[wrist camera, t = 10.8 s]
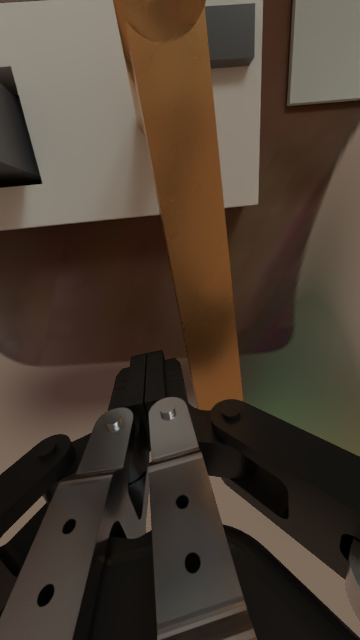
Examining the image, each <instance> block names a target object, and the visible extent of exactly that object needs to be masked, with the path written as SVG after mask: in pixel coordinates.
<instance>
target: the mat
mask: <svg viewBox="0 0 360 640" xmlns="http://www.w3.org/2000/svg"><path fill="white" fill-rule="evenodd" d="M356 100H360V0H293V5H292V22H291V40H290V58H289V76H288V93H287V106H296V105H308V104H320V103H332V102H344V101H356Z"/></svg>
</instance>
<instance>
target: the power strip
mask: <svg viewBox="0 0 360 640" xmlns="http://www.w3.org/2000/svg"><path fill="white" fill-rule="evenodd" d="M205 15H206V25H207V36H208V46H209V56H210V66H211V76H212V87H213V97H214V107H215V117H216V128H217V138H218V148H219V158H220V169H221V179H222V189H223V199H224V208H234V207H243V206H250V205H256V204H258V191H259V149H260V107H261V66H262V24H263V0H206V3H205ZM0 83H1V84H2V85H3V86H4V87H5V88H7V89H8V90H9V91H10V92H11V93H12V94H13V95H19V98H20V102H21V106H22V109H23V113H24V117H25V120H26V124H27V128H28V132H29V135H30V139H31V143H32V146H33V150H34V154H35V158H36V161H37V165H38V169H39V172H40V176H41V180H42V184H36V185H26V186H15V187H4V188H0V231H5V230H15V229H25V228H35V227H45V226H55V225H65V224H75V223H85V222H95V221H104V220H114V219H124V218H134V217H144V216H154V215H160V212H159V207H158V202H157V196H156V191H155V186H154V181H153V175H152V170H151V165H150V160H149V155H148V149H147V144H146V139H145V136H144V135H143V133H142V132H141V130H140V128H139V126H138V123H137V118H136V113H135V108H134V103H133V98H132V93H131V89H130V84H129V79H128V74H127V69H126V64H125V59H124V54H123V49H122V44H121V39H120V34H119V29H118V24H117V19H116V14H115V9H114V4H113V0H46V1H30V2H13V3H0Z"/></svg>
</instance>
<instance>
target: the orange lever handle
mask: <svg viewBox="0 0 360 640" xmlns="http://www.w3.org/2000/svg"><path fill="white" fill-rule="evenodd" d="M205 3H206V0H113V4H114V9H115V14H116V19H117V24H118V29H119V34H120V39H121V44H122V49H123V54H124V59H125V64H126V69H127V74H128V79H129V84H130V89H131V93H132V98H133V103H134V108H135V113H136V118H137V123H138V126H139V128H140V130H141V132H142V133H143V135H144V136H145V139H146V144H147V149H148V155H149V160H150V165H151V170H152V175H153V181H154V186H155V191H156V196H157V202H158V207H159V212H160V217H161V222H162V228H163V233H164V238H165V243H166V249H167V254H168V259H169V264H170V269H171V275H172V280H173V285H174V290H175V296H176V301H177V306H178V311H179V316H180V322H181V327H182V332H183V337H184V343H185V348H186V353H187V358H188V363H189V369H190V374H191V379H192V384H193V389H194V395H195V399H196V404H197V409H200V410H211V409H212V408H213V406H214V405H215V404H217V403H218V402H220V401H223V400H227V399H236V400H240V401H243V395H242V384H241V373H240V364H239V353H238V343H237V332H236V322H235V312H234V302H233V291H232V281H231V271H230V261H229V250H228V240H227V230H226V220H225V210H224V199H223V189H222V179H221V169H220V158H219V148H218V138H217V128H216V117H215V107H214V97H213V87H212V76H211V66H210V56H209V46H208V36H207V25H206V15H205Z"/></svg>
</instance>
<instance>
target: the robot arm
mask: <svg viewBox="0 0 360 640" xmlns="http://www.w3.org/2000/svg"><path fill="white" fill-rule="evenodd" d="M149 451H151V454H152V462H150V463H149ZM208 475H209V476H216V477H221V478H222V480H223V481H224V483H225V484H226V485H227V486H229V487H230V488H231V489H232V490H233V491H235V492H236V493H237V494H239V495H240V496H241V497H242V498H244V499H245V500H246V501H248V502H249V503H250V504H251V505H252V506H254V507H255V508H256V509H257V510H259V511H260V512H261V513H262V514H264V515H265V516H266V517H267V518H269V519H270V520H271V521H272V522H274V523H275V524H276V525H277V526H279V527H280V528H281V529H282V530H284V531H285V532H286V533H287V534H289V535H290V536H291V537H292V538H294V539H295V540H296V541H297V542H299V543H300V544H301V545H302V546H304V547H305V548H306V549H307V550H309V551H310V552H311V553H312V554H314V555H315V556H316V557H317V558H319V559H320V560H321V561H322V562H324V563H325V564H326V565H327V566H329V567H330V568H331V569H333V570H334V571H335V572H336V573H337V574H339V575H340V576H341V577H342V578H344V579H345V580H346V583H345V584H346V591H347V595H348V598H349V601H350V604H351V606H352V608H353V610H354V612H355V614H356V615H357V617H358V619H359V620H360V457H359V456H357V455H355V454H353V453H351V452H349V451H346V450H344V449H342V448H340V447H338V446H336V445H334V444H332V443H330V442H327V441H325V440H323V439H321V438H319V437H317V436H315V435H313V434H311V433H308V432H306V431H304V430H302V429H300V428H298V427H296V426H294V425H291V424H289V423H287V422H285V421H283V420H281V419H279V418H277V417H275V416H273V415H270V414H268V413H266V412H264V411H262V410H260V409H258V408H256V407H254V406H251V405H249V404H247V403H245V402H243V401H240V400H236V399H227V400H223V401H220V402H218V403H217V404H215V405H214V406H213V408H212V409H211V410H200V409H196V408H194V407H192V406H191V405H190V404H189V403H188V400H187V394H186V389H185V384H184V379H183V374H182V370H181V365H180V362H179V361H178V360H177V359H175V358H171V359H167V360H165V358H164V353H163V350H160V351H155V352H150V353H146V354H141V355H136V356H132V357H131V362H130V367H128V368H124V369H122V370H121V371H120V372H119V374H118V375H117V376H116V380H115V385H114V388H113V392H112V396H111V400H110V404H109V408H108V412H106V413H105V414H103V415H102V416H101V417H100V418H99V419H98V420H97V422H96V424H95V426H94V428H93V431H92V433H90V434H88V435H86V436H84V437H82V438H80V439H77V440H75V441H73V442H71V441H70V439H69V437H68V436H66V435H63V434H58V435H53V436H51V437H48V438H46V439H44V440H43V441H41V442H40V443H38V444H37V445H36V446H35V447H33V448H32V449H31V450H30V451H29V452H28V453H26V454H25V455H24V456H23V457H21V458H20V459H19V460H18V461H16V462H15V463H14V464H13V465H12V466H11V467H9V468H8V469H7V470H6V471H4V472H3V473H2V474H1V475H0V538H1V537H2V535H3V534H4V533H5V532H6V531H7V530H8V529H9V528H10V527H11V526H12V525H13V524H14V523H15V522H16V521H17V520H18V519H19V518H20V517H21V516H22V515H23V514H24V513H25V512H26V511H27V510H28V509H29V508H30V507H31V506H32V505H33V504H34V503H35V502H36V501H37V500H38V499H39V498H40V497H41V496H43V497H44V499H45V500H46V502H47V503H46V504H45V505H44V506H43V507H42V508H41V509H40V510H39V511H38V512H37V513H36V514H35V515H34V516H33V517H32V518H31V519H30V520H29V521H28V523H26V525H24V527H23V528H22V529H21V530H20V531H19V532H18V533H17V534H16V535H15V536H14V537H13V538H12V539H11V540H10V541H9V542H8V543H7V544H5V545H3V546H2V547H0V640H360V638H359V637H358V636H357V635H356V634H355V633H354V632H353V631H352V630H351V629H350V628H349V627H348V626H347V625H346V624H345V623H344V622H342V621H341V620H340V619H339V618H338V617H337V616H336V615H335V614H334V613H333V612H332V611H331V610H330V609H329V608H328V607H327V606H326V605H325V604H323V602H321V601H320V600H319V599H318V598H317V597H316V596H315V595H314V594H313V593H312V592H311V591H310V590H309V589H308V588H307V587H306V586H305V585H304V584H303V583H302V582H301V581H300V580H298V579H297V578H296V577H295V576H294V575H293V574H292V573H291V572H290V571H289V570H288V569H287V568H286V567H285V566H284V565H283V564H282V563H281V562H280V561H279V560H277V559H276V558H275V557H274V556H273V555H272V554H271V553H270V552H269V551H268V550H267V549H266V548H265V547H264V546H263V545H261V544H260V543H259V542H258V541H257V540H255V539H254V538H252V537H251V536H250V535H248V534H246V533H244V532H242V531H241V530H238V529H236V528H233V527H230V526H227V525H223V524H222V522H221V518H220V515H219V511H218V508H217V504H216V501H215V497H214V494H213V490H212V487H211V484H210V480H209V477H208ZM149 489H150V506H151V525H152V530H151V531H150V532H148V533H146V517H147V506H148V495H149Z"/></svg>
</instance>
